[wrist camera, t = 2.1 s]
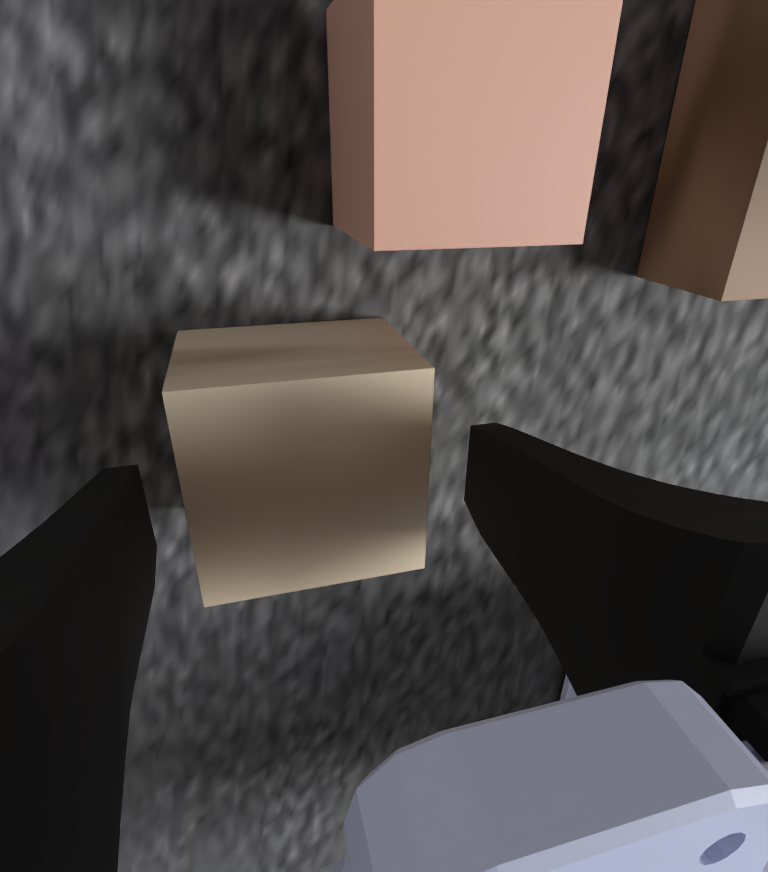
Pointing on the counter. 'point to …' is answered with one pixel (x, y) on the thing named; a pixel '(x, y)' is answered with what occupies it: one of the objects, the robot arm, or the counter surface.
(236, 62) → the counter surface
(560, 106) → the terracotta block
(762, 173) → the walnut base
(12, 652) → the robot arm
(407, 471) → the maple block
